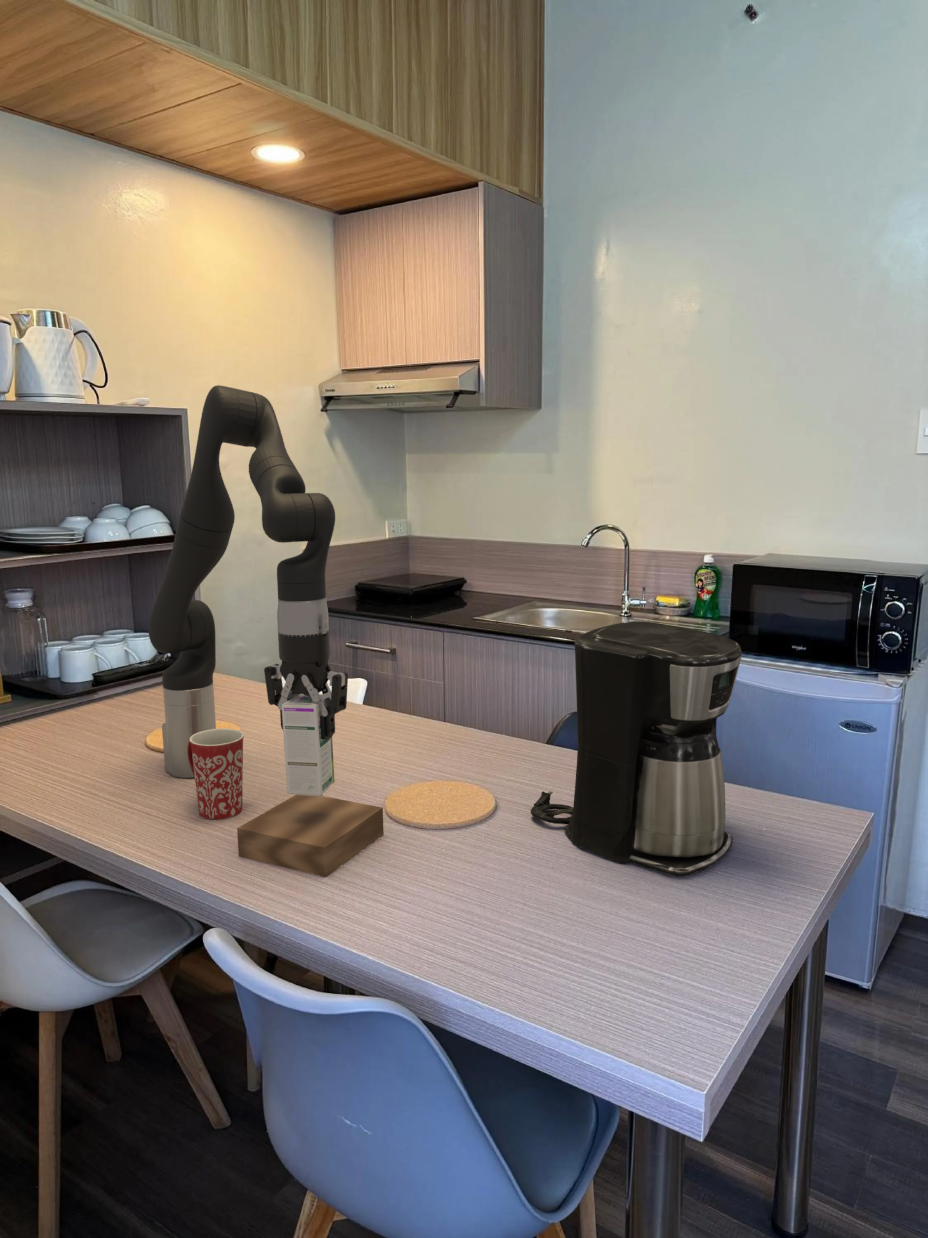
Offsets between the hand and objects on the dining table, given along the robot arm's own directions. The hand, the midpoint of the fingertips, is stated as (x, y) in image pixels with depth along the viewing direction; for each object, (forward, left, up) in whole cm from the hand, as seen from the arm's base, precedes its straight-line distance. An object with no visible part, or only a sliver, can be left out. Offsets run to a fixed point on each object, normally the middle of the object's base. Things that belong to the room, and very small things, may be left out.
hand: (308, 735), depth 132 cm
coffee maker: (+45, +26, -18) cm, 55 cm away
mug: (-24, +5, -18) cm, 30 cm away
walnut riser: (0, 0, -18) cm, 18 cm away
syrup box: (0, 0, -9) cm, 9 cm away
